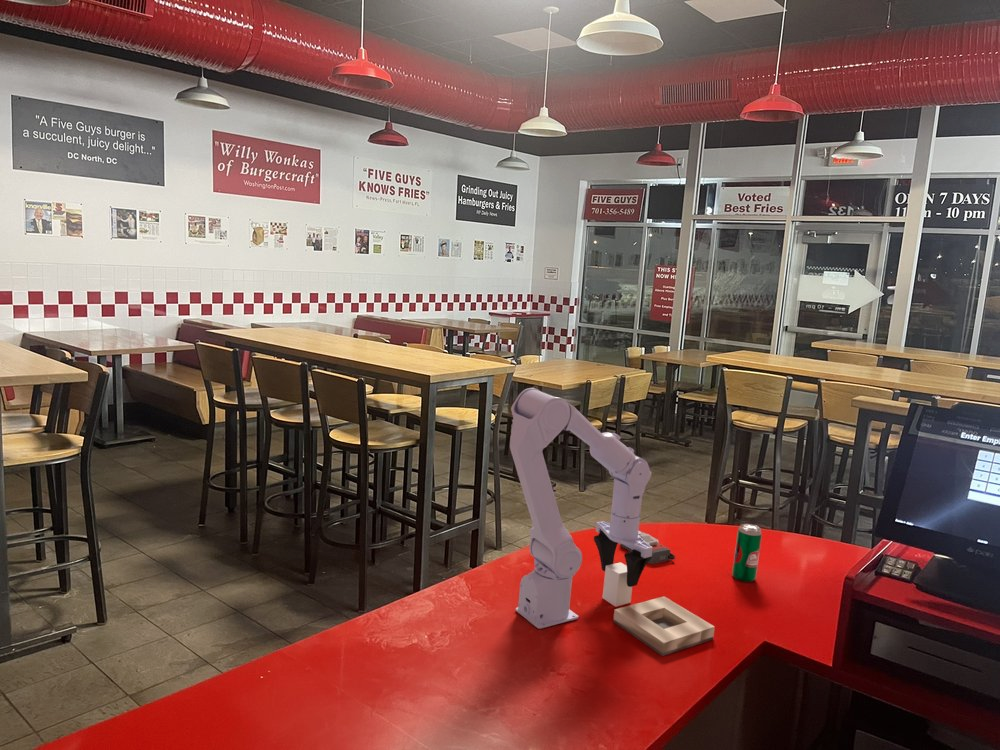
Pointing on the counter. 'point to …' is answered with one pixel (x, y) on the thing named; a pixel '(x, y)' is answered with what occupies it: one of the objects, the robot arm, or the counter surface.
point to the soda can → (747, 552)
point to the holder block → (663, 625)
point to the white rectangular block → (616, 585)
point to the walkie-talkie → (654, 549)
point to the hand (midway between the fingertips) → (619, 577)
